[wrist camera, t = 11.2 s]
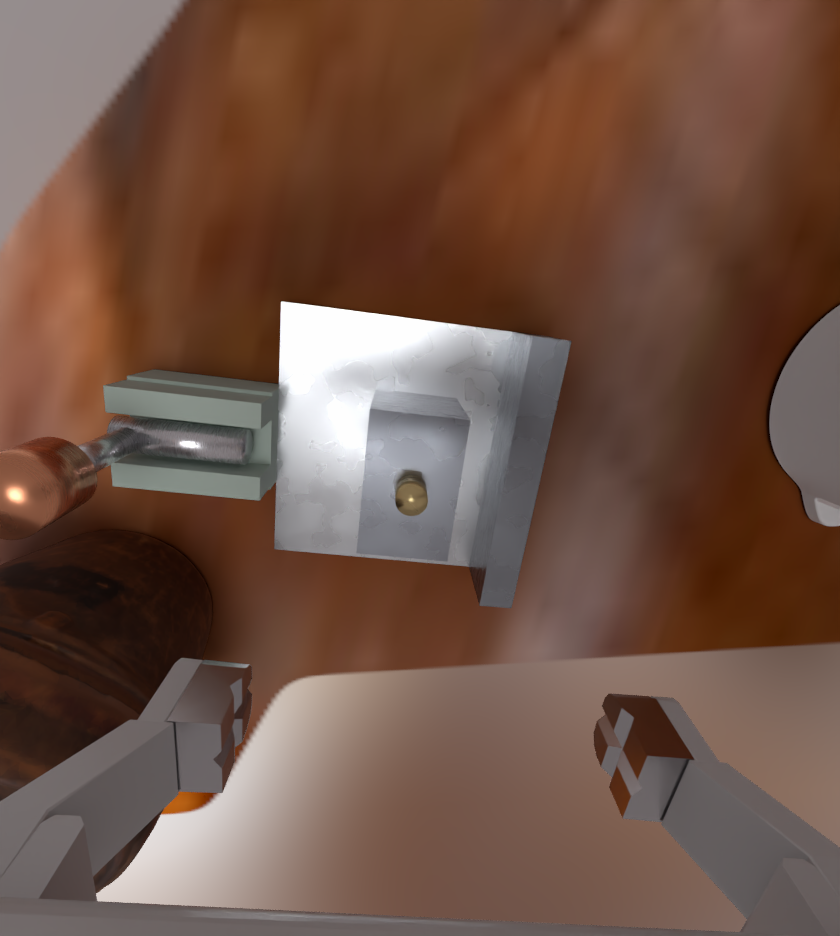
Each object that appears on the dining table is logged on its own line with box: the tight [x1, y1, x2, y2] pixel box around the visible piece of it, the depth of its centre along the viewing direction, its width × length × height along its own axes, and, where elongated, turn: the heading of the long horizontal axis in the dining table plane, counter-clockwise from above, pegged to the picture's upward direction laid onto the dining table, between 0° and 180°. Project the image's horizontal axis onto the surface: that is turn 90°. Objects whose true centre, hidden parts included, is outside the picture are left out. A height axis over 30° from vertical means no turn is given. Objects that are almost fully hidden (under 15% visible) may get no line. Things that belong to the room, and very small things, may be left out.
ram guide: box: [103, 369, 279, 501], centre depth 27 cm, size 8×6×5 cm
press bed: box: [274, 301, 571, 608], centre depth 28 cm, size 16×16×6 cm
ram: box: [0, 415, 252, 540], centre depth 22 cm, size 8×3×10 cm, turn 83°
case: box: [0, 530, 212, 893], centre depth 26 cm, size 18×20×18 cm
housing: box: [356, 389, 471, 561], centre depth 26 cm, size 5×8×8 cm, turn 173°
